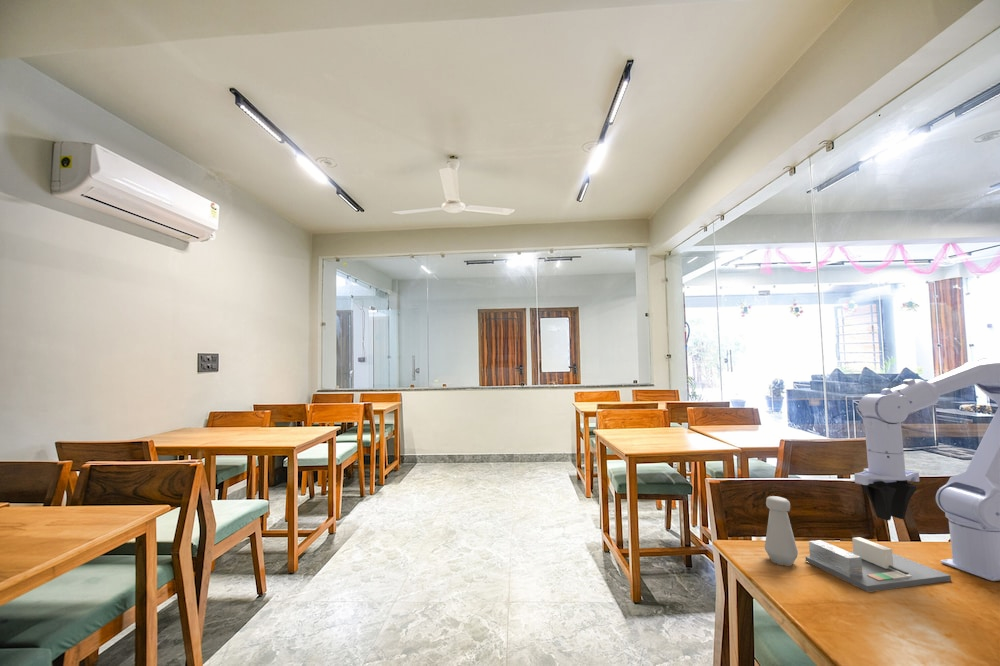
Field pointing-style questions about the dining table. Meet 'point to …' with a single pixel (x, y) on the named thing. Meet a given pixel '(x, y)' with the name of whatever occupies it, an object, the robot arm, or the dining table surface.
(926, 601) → the dining table surface
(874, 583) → the base
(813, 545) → the grey block
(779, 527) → the salt shaker
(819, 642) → the dining table surface
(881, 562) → the white rectangular bar
